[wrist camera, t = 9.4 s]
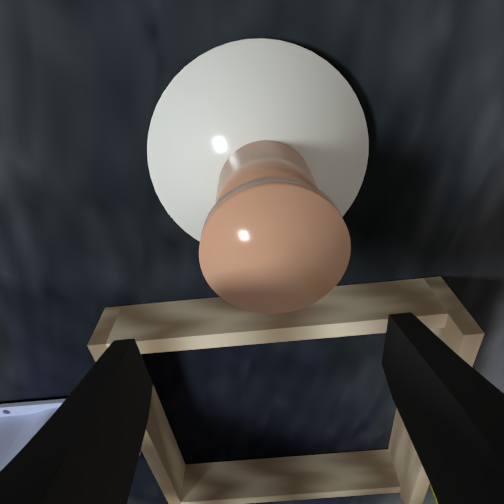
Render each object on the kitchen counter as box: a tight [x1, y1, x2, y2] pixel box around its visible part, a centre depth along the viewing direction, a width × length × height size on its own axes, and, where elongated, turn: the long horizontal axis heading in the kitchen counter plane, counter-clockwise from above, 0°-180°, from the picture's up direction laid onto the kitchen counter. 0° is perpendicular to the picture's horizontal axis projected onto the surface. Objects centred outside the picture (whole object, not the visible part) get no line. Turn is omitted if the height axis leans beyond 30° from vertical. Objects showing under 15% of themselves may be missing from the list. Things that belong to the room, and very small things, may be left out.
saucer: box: [147, 38, 369, 241], centre depth 16 cm, size 10×10×1 cm
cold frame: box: [87, 276, 485, 504], centre depth 25 cm, size 20×20×4 cm
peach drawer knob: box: [199, 140, 351, 314], centre depth 14 cm, size 5×5×6 cm
